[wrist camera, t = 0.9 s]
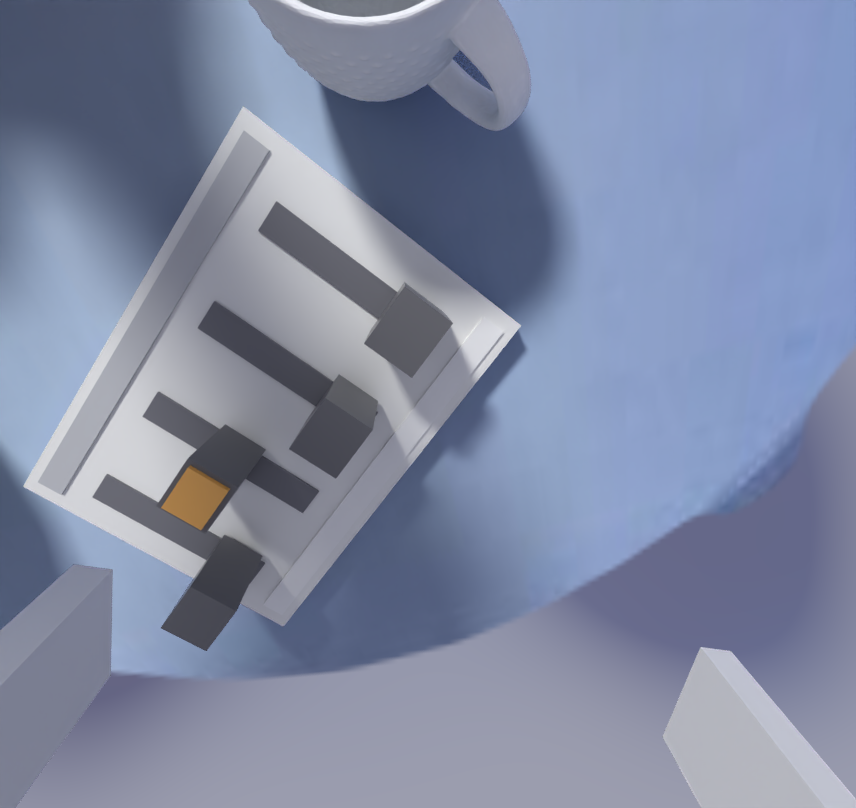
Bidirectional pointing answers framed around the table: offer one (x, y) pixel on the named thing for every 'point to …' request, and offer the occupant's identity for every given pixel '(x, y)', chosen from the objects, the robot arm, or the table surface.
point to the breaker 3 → (336, 427)
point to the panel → (263, 369)
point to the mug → (407, 51)
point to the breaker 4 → (408, 330)
